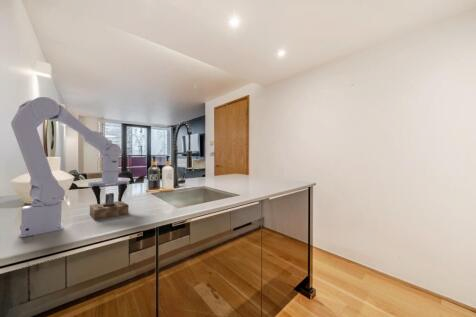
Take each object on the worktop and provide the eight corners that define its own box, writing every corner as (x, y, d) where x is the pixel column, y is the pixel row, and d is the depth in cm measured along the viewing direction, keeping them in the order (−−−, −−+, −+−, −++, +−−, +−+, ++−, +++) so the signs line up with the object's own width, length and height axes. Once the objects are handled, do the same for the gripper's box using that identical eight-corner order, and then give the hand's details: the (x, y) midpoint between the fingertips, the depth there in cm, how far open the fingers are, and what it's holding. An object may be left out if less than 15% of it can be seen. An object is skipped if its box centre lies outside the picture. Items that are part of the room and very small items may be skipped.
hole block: (94, 220, 72) (94, 210, 72) (89, 214, 79) (89, 205, 79) (128, 214, 81) (128, 205, 81) (121, 209, 88) (121, 200, 88)
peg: (105, 215, 78) (106, 194, 78) (104, 214, 80) (104, 193, 80) (114, 214, 80) (114, 193, 80) (112, 212, 82) (113, 192, 82)
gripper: (90, 172, 72) (89, 207, 72) (131, 171, 82) (130, 201, 83) (87, 171, 77) (86, 203, 77) (126, 170, 87) (126, 198, 87)
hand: (109, 202), depth 80 cm, fingers open, 7 cm apart
